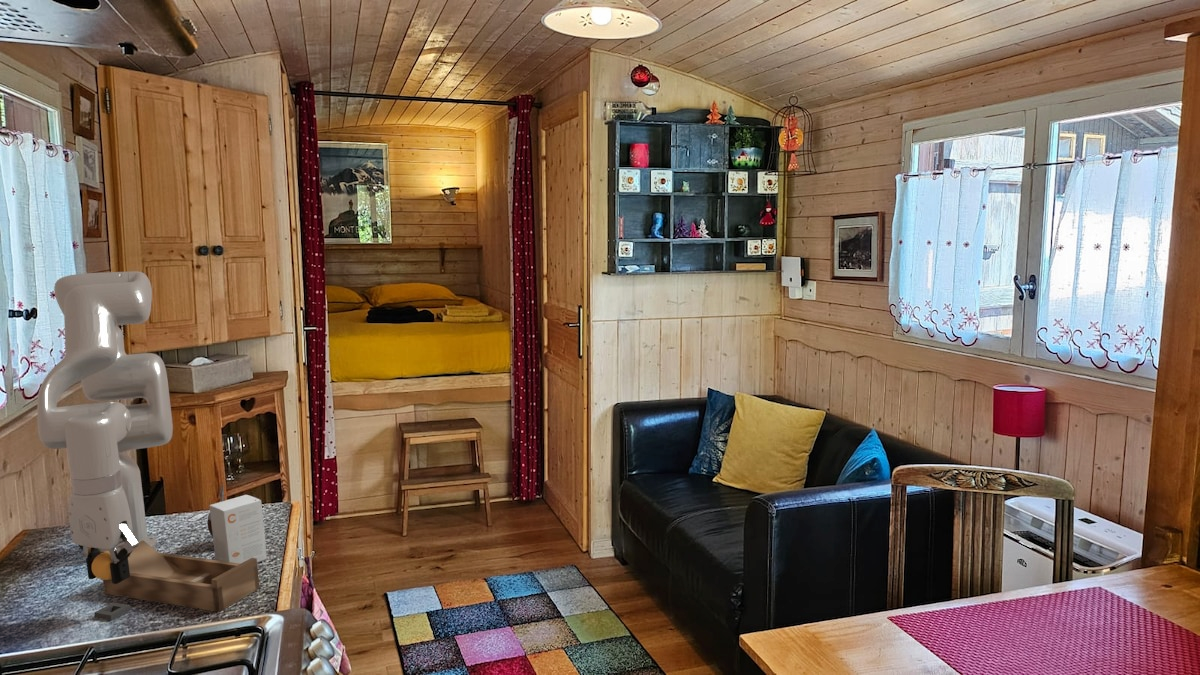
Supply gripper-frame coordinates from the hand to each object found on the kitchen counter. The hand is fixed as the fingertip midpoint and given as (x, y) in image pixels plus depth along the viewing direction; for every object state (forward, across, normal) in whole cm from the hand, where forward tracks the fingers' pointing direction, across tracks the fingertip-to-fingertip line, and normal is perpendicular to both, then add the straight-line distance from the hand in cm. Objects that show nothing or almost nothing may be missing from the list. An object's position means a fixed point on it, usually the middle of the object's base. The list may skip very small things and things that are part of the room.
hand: (109, 577), depth 148 cm
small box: (+7, +7, +24) cm, 26 cm away
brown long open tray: (+7, +6, +10) cm, 13 cm away
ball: (-2, 0, 0) cm, 2 cm away
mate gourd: (+8, -3, +31) cm, 32 cm away
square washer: (+7, +1, -1) cm, 7 cm away
